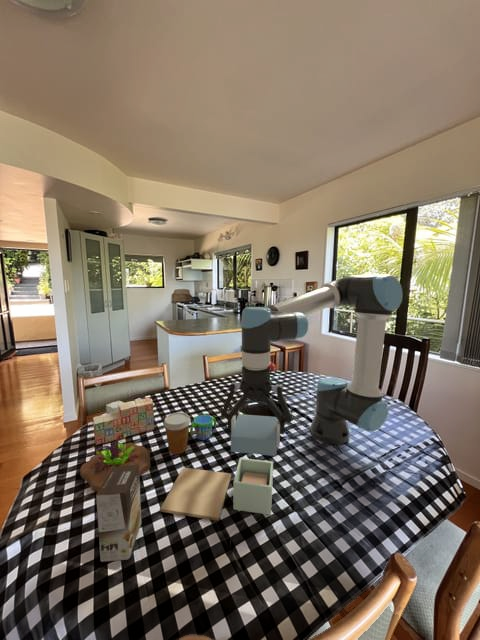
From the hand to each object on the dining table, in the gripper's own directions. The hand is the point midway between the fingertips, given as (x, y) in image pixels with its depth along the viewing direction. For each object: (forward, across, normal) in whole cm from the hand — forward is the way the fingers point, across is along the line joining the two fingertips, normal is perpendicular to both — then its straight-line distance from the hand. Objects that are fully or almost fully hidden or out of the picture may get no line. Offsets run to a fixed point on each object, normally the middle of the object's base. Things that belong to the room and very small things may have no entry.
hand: (255, 441), depth 72 cm
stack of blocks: (+17, +55, -22) cm, 61 cm away
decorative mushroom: (+18, +2, -85) cm, 87 cm away
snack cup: (+17, +23, -26) cm, 39 cm away
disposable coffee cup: (+17, +30, -17) cm, 39 cm away
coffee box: (+17, +29, +18) cm, 38 cm away
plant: (+17, +46, -4) cm, 49 cm away
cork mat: (+17, +16, +1) cm, 23 cm away
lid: (0, 0, 0) cm, 0 cm away
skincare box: (+17, +65, -32) cm, 75 cm away
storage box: (+17, 0, 0) cm, 17 cm away
